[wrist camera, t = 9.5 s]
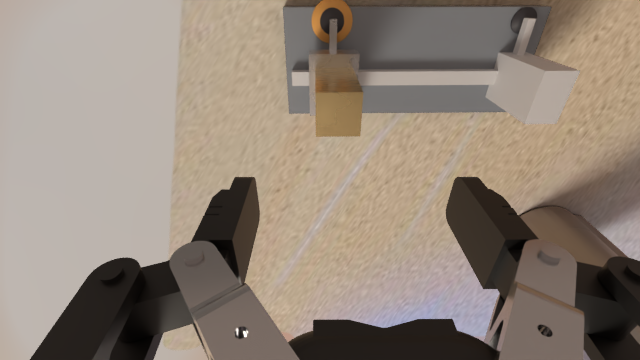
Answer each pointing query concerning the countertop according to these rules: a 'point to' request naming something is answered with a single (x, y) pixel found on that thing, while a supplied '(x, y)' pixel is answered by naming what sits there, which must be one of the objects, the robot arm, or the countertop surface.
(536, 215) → the robot arm
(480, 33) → the bolt plate
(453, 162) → the countertop surface
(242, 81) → the countertop surface
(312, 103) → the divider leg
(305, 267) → the countertop surface
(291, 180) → the countertop surface
